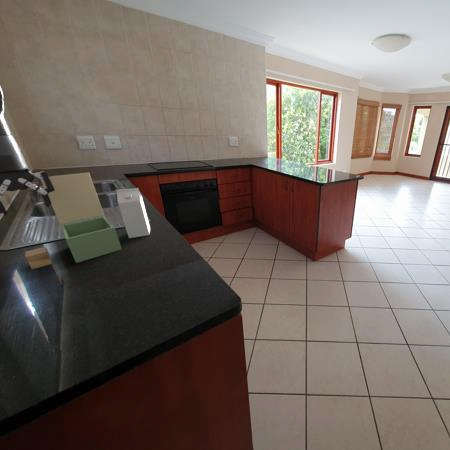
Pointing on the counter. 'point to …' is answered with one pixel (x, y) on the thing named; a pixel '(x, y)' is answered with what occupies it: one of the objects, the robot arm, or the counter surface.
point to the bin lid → (74, 197)
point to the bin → (91, 238)
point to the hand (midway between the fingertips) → (27, 210)
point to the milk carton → (133, 212)
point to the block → (38, 257)
